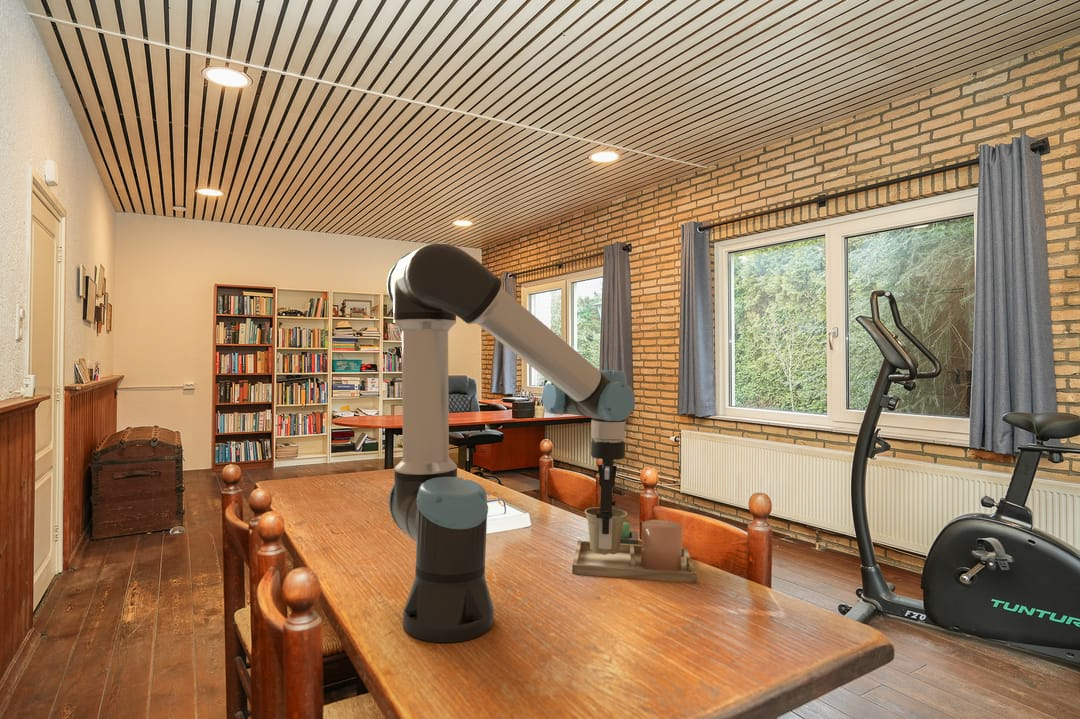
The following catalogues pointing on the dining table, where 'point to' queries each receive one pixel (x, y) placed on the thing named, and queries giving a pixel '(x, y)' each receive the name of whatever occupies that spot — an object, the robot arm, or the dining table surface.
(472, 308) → the robot arm
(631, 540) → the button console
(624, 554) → the wooden serving tray
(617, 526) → the flower pot
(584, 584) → the dining table surface
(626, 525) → the button
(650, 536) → the taupe pillar candle
